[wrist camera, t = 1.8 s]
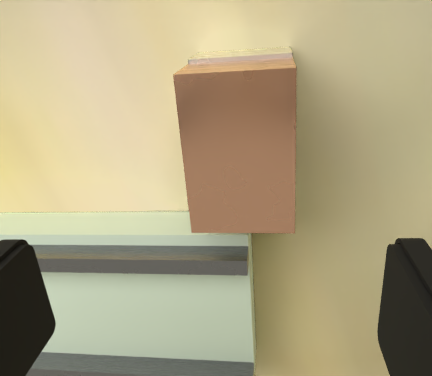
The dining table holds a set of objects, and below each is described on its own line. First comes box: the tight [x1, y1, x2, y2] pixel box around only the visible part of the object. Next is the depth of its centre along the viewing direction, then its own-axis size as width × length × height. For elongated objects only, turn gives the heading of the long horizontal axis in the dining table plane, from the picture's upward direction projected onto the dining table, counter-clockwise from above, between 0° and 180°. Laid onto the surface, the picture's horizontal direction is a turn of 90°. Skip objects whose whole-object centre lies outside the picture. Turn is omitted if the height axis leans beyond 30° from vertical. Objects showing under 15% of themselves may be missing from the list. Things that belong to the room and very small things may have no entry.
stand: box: [0, 211, 256, 376], centre depth 27 cm, size 18×12×4 cm, turn 94°
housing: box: [173, 46, 296, 233], centre depth 20 cm, size 5×8×6 cm, turn 4°
